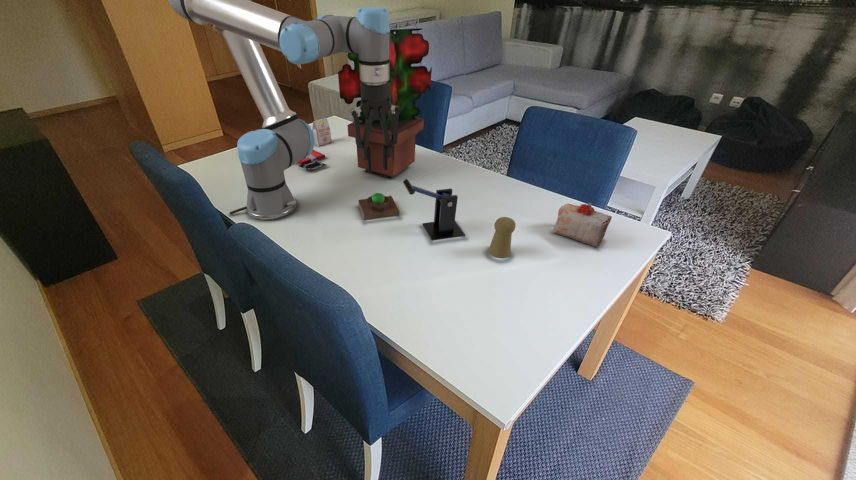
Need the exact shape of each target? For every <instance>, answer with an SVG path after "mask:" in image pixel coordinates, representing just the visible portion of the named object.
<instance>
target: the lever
mask: <svg viewBox="0 0 856 480" xmlns="http://www.w3.org/2000/svg"><path fill="white" fill-rule="evenodd" d="M402 183H403V185H404V187H405V189H406V190H407V192H408V193H409V195H414V194H415V193H419V194H421V195H425V196H427V197H431V198H434V199H436V198H437V199H439V201H440V202H441V197H444V196H451V195H450V194H447V193H444V192H443V193H442V195H440V194H437V193H436V192H434V191H431V190H428V189H425V188H423V187H418V186H416V185H413V184H412V183H411V181H410V180H409V179H407V178H405V179H403V181H402Z"/></svg>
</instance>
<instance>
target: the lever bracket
mask: <svg viewBox="0 0 856 480" xmlns="http://www.w3.org/2000/svg"><path fill="white" fill-rule="evenodd" d="M443 192H444V193H447V194H450V195H451V196H444V197H441V202H440V201H439V199H437V198H435V200H434V201H435V203H434V213H433V214H434V215H433V221H429V222H423V223H422V226H423V228H424V230H425V232H426V233H427V235H428V237H429V239H430V240H431V242H434V241H440V240H446V239H447V240H448V239H454V238H459V237H460V238H461V237H465V236H466V234H465V233H464V231H463V230H462V228H461V227H460V226H459V224H458V223H457V221H456V213H457V207H458V196H459V195H457V194H453V189H452V188H444V189H436V192H435V193H437V194H440V195H442V193H443Z"/></svg>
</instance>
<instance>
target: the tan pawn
mask: <svg viewBox="0 0 856 480" xmlns="http://www.w3.org/2000/svg"><path fill="white" fill-rule="evenodd" d="M493 226H494V230H495V231H494V233H493V236H492V238H491V242H490V245H489V247H488V249H487V252H488V254H489V255H490V256H492V257H493V258H497V259H506V258H508V257H509V256H510V255H511V248H512V247H511V246H512V233H514V232H515V231H516V227H517V225H516V222H515V220H514V219H513V218H511V217H508V216H501V217H498V218H497V219H496V220H495V222H494V225H493Z"/></svg>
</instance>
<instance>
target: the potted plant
mask: <svg viewBox="0 0 856 480" xmlns="http://www.w3.org/2000/svg"><path fill="white" fill-rule="evenodd" d="M422 30H423V28H422V27H421V28H417V27H416V28H396V29H394V28H393V29H390V33H389V73H390V79H389V80H388V82H389V84H390V102H391V104H392V105H398V106H399V107H400V109H401V111H400V114H399V116H398V139H397V144H394V145H392V147H391V157H390V158H387V163H388V170H385V169H384V167H383V145H386V144H385V140H384V135H383V131H382V126H381V122H380V120H375V121H373V123H372V126H371V132H370V138H369V144H368V146H369V148H370V150H371V172H369V171H368V169H367V160H364V158H363V149H362V148H358V147H357V146H356V155H357V156H356V157H357V158H356V160H357V168H359V169H363V170H364V171H365V172H366V173H369V174H373V175H377V176H380V177H385V178H387V179H393V178H395V177H396V176H398V174H399V175H400V173H402V172H403V171H405V170H406V169H407V168H408V167H409V166H410V165H412V164H414V163H415V162H416V141H417V134H419V133H420V132H423V131H424V127H425V124H424V123H425V118H422V117H418V116H419V115H420V113H421V109H420V108H419V107H417V106H416V101H417V100H419V99H420V98H421V96H422V94H424V93H426V91H427V90H428V91H429V92H431V88H432V73H433V67H432V66H431V67H430V69H428V67H427V66H425V65H418V64H421V63H422V61H423V60H424V58H425V57H427V56H428V55H429V53H430V42H429V41H428V40H427V39H425V38H424V36H423V34H422V33H420V32H417V33H413V32H415V31H422ZM346 57H347V59H348V60H349V61H352V62H353V68H352V66H351V64H349V63H344V64H343V65H342V68H341V69H340V70H339V71H337V78H338V91H339V99H342V100H343V101H344V103H345V104H346V105H352V104H353V103H354V100H355V99H360V100H357V101H356V104H355V105H356V108H357V107H359V105H360V103H361V88H360V84H361V82H362V81H361V80H360V66H359V54H358V53H357V54H355V53H347V54H346ZM412 65H413V66H412ZM414 65H417V66H414ZM385 117H386V121H387V128H388V132H389V137H390V139H391V129H392V113H391V109H390V110H389V112H388V113H387V115H386V116H385ZM358 118H359V123H360V134H361V142H363V135H364V129H365V122H366V121H365V120H366V116H365V115H364V113H363V112H362V111H361V112H360V117H358ZM347 136H348V137H349V138H353V139H355V130H354V121H353V122H351V123H349V124H347Z"/></svg>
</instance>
